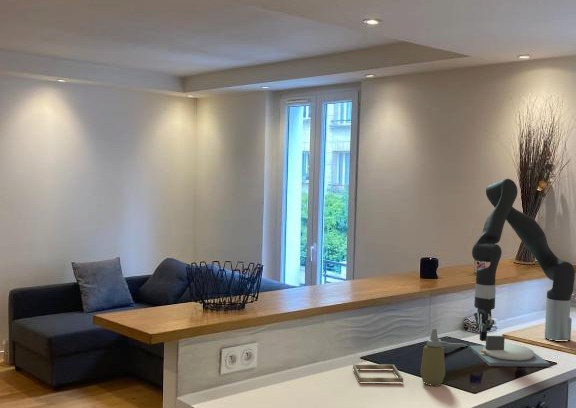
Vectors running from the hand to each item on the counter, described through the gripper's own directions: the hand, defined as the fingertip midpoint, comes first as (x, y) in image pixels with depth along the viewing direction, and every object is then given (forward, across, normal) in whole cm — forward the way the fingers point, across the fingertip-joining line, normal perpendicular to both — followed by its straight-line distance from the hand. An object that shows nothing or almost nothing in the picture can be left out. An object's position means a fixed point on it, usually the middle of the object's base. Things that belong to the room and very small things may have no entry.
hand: (483, 340), depth 251 cm
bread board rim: (+5, +25, -49) cm, 55 cm away
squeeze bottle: (+5, +32, -32) cm, 46 cm away
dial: (+3, +6, +7) cm, 9 cm away
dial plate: (+5, +6, +7) cm, 11 cm away
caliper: (+5, -4, -11) cm, 13 cm away
